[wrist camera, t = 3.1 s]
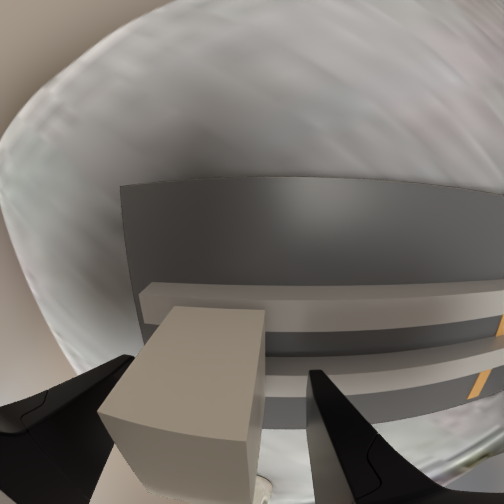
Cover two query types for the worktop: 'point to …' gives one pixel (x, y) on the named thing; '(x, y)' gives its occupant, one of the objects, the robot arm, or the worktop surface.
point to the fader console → (334, 283)
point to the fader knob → (194, 406)
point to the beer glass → (262, 491)
